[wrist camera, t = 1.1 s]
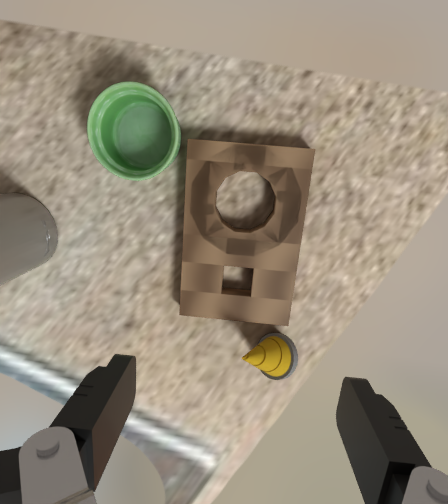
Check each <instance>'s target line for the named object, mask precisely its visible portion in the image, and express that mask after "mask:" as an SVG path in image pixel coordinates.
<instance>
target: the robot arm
mask: <svg viewBox="0 0 448 504" xmlns="http://www.w3.org/2000/svg"><path fill="white" fill-rule="evenodd" d="M57 242H58V233H57V227H56V224H55V222H54V219H53V218H52V216H51V214H50V213H49V211H48V210H47V209H46V208H45V207H44V206H43V205H42V204H41V203H40V202H38V201H37V200H36V199H34V198H32V197H30V196H28V195H24V194H21V193H6V194H0V286H1V285H3V284H5V283H6V282H8V281H10V280H12V279H14V278H16V277H18V276H20V275H22V274H24V273H26V272H28V271H30V270H32V269H34V268H36V267H38V266H40V265H42V264H43V263H45V262H46V261H48V260H49V259H50V258H51V257H52V255H53V253H54V252H55V250H56V246H57ZM135 393H136V357H135V356H130V355H120V354H115V355H114V356H113V357H112V359H111V361H110V362H109V364H108V365H107V367H102V366H98V367H97V368H95V369H94V370H93V371H91V372H90V373H88V374H87V375H86V377H85V378H84V379H83V381H82V382H81V383H80V385H79V387H78V388H77V389H76V390H75V392H74V393H73V396H71V397H70V399H69V400H68V401H67V403H66V404H65V406H64V407H63V408H62V410H61V411H60V413H59V414H58V415H57V417H56V418H55V419H54V421H53V422H52V424H51V425H50V426H49V428H46V429H43V430H41V431H39V432H37V433H35V434H34V435H32V436H31V437H30V438H29V439H28V440H27V441H26V442H25V443H24V444H23V446H22V447H18V448H15V449H10V450H4V451H0V504H97V503H96V499H95V496H94V493H93V492H95V490H96V488H97V485H98V483H99V481H100V479H101V476H102V474H103V472H104V470H105V467H106V465H107V463H108V461H109V458H110V456H111V454H112V451H113V449H114V447H115V445H116V442H117V440H118V438H119V436H120V433H121V431H122V429H123V427H124V424H125V422H126V420H127V418H128V415H129V413H130V411H131V409H132V406H133V403H134V399H135ZM336 420H337V427H338V430H339V433H340V436H341V438H342V441H343V444H344V446H345V449H346V452H347V454H348V458H349V460H350V463H351V466H352V468H353V472H354V474H355V477H356V480H357V483H358V486H359V488H360V491H361V494H362V496H363V499H364V502H365V504H448V475H446V474H444V473H443V472H441V471H439V470H436V469H434V468H432V467H431V465H430V463H429V462H428V460H427V459H426V457H425V455H424V454H423V452H422V451H421V449H420V447H419V446H418V444H417V442H416V441H415V439H414V438H413V436H412V434H411V433H410V431H409V430H407V426H406V425H405V423H404V422H403V420H401V417H400V415H399V413H398V412H397V410H396V409H395V407H394V406H393V405H392V404H391V403H390V402H389V401H388V400H387V399H386V398H385V397H384V396H382V395H379V394H375V392H374V390H373V389H372V387H371V385H370V383H369V382H368V380H366V379H362V378H352V377H345V378H344V380H343V383H342V388H341V392H340V397H339V402H338V406H337V412H336Z"/></svg>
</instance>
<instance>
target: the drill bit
mask: <svg viewBox="0 0 448 504" xmlns="http://www.w3.org/2000/svg"><path fill="white" fill-rule="evenodd" d="M242 359H243V360H245V361H246V362H248V363H250V364H252V365H253V366H255V367H257V368H258V369H260V370H261V372H262V373H263V374H264V375H265V376H267V377H268V378H270V379H274V380H280V379H284V378H287V377H289V376H290V375H291V374H292V373H293V372H294V371H295V369H296V366H297V362H298V354H297V350H296V347H295V345H294V343H293V342H292V340H291V339H290V338H289V337H287V336H286V335H284V334H281V333H270V334H267V335H265V336H264V337H262V339H261V340H260V341H259V343H258V345H257V346H256V347H255V348H253V349H252V350H251V351H250V352H248V353H247V354H246V355H245V356H243V357H242Z"/></svg>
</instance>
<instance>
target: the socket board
mask: <svg viewBox="0 0 448 504" xmlns="http://www.w3.org/2000/svg"><path fill="white" fill-rule="evenodd" d="M314 154H315V149H307V148H295V147H283V146H271V145H259V144H247V143H234V142H222V141H210V140H198V139H188V141H187V162H186V184H185V205H184V227H183V249H182V270H181V292H180V313H179V315H184V316H194V317H204V318H214V319H224V320H234V321H244V322H254V323H263V324H273V325H283V326H288V324H289V318H290V311H291V304H292V298H293V291H294V285H295V278H296V272H297V265H298V259H299V252H300V245H301V239H302V232H303V226H304V219H305V213H306V206H307V200H308V193H309V187H310V180H311V173H312V167H313V160H314ZM239 171H247V172H257V173H258V174H260V175H261V176H262V177H264V178H265V179H266V180H268V181H269V183H270V185H271V188H272V190H273V192H274V195H275V198H274V206H273V211H272V213H271V214H270V215H269V217H268V218H267V219H266V221H265V222H264V223H263V224H261V225H259V226H256V227H254V228H252V229H239V228H234V227H232V226H231V225H230V224H228V223H227V222H225V221H224V220H222V218H221V216H220V213H219V211H218V209H217V207H216V197H217V190H218V188H219V187H220V185H221V184H222V182H223V181H224V179H225V178H226V177H228V176H230V175H233V174H235V173H237V172H239ZM224 266H234V267H245V268H253V274H252V282H251V290H244V289H234V288H223V287H222V283H223V271H224Z"/></svg>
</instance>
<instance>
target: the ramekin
mask: <svg viewBox="0 0 448 504" xmlns="http://www.w3.org/2000/svg"><path fill="white" fill-rule="evenodd" d="M87 135H88V140H89V144H90V147H91V149H92V151H93V153H94V155H95V157H96V158H97V160H98V161H99V162H100V163H101V164H102V165H103V166H104V167H105V168H106V169H107V170H108V171H110V172H111V173H113V174H114V175H116V176H118V177H121V178H123V179H127V180H134V181H139V180H146V179H149V178H152V177H154V176H156V175H158V174H159V173H160V172H162V171H163V170H164V169H165V168H167V167H168V166H169V165H170V164H171V163H172V162H173V161H174V159H175V158H176V156H177V154H178V151H179V148H180V144H181V130H180V126H179V122H178V120H177V118H176V116H175V113H174V111H173V109H172V107H171V106H170V104H169V103H168V101H167V100H166V99H165V98H164V97H163V96H162V95H161V94H160V93H159V92H158V91H156V90H155V89H153V88H152V87H150V86H148V85H145V84H142V83H139V82H132V81H129V82H120V83H116V84H114V85H111V86H109V87H108V88H106V89H105V90H104V91H102V92H101V93H100V94H99V96H98V97H97V98H96V99H95V101H94V102H93V104H92V106H91V108H90V111H89V115H88V120H87Z"/></svg>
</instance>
